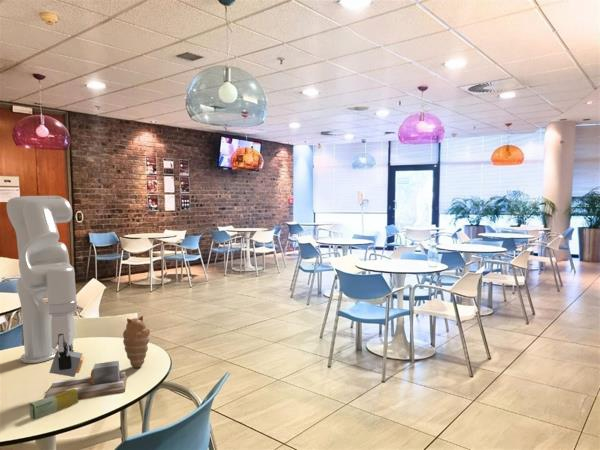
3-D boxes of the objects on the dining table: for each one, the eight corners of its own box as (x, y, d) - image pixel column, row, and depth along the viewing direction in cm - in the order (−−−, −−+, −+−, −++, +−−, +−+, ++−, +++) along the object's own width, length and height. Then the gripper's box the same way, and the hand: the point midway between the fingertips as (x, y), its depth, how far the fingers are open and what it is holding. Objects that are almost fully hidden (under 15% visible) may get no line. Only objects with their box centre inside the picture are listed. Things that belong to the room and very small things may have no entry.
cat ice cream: (127, 374, 143) (124, 322, 142) (121, 366, 150) (118, 316, 148) (154, 367, 149) (151, 316, 147) (147, 360, 155) (144, 311, 153)
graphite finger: (52, 367, 131) (58, 348, 132) (79, 372, 134) (85, 353, 134) (49, 372, 128) (55, 353, 128) (77, 377, 130) (83, 358, 130)
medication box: (32, 420, 116) (31, 406, 115) (29, 417, 118) (28, 403, 117) (78, 403, 125) (78, 390, 125) (74, 400, 127) (74, 387, 126)
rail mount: (43, 404, 124) (41, 381, 124) (52, 386, 136) (51, 365, 135) (124, 391, 131) (123, 369, 131) (127, 375, 143) (126, 355, 142)
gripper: (55, 302, 136) (59, 358, 137) (41, 316, 120) (46, 379, 122) (81, 299, 138) (84, 354, 140) (71, 313, 123) (75, 375, 124)
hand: (66, 365), depth 131 cm, fingers closed on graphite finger, 3 cm apart
